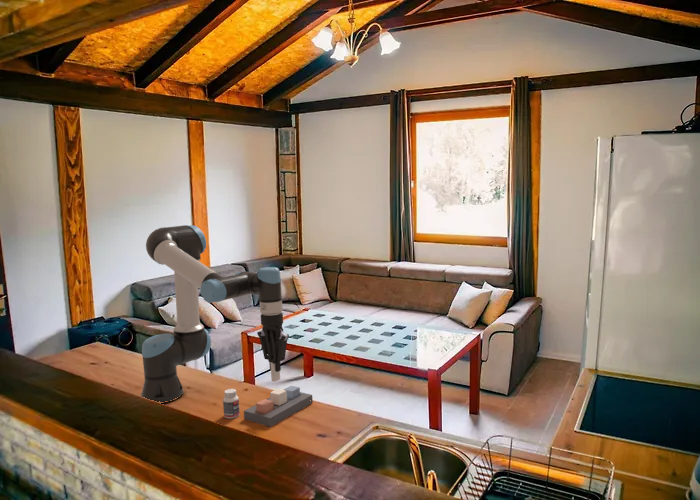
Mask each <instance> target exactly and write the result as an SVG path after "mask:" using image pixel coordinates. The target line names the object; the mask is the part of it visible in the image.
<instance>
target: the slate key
mask: <svg viewBox="0 0 700 500" xmlns="http://www.w3.org/2000/svg"><path fill="white" fill-rule="evenodd" d="M300 389H301V388H300V387H299V386H295V385H290V386H287V387H285V388H284V389H283V390H286V391H287V398H289V399H295V398H297V397H298V396H300V392H301V390H300Z"/></svg>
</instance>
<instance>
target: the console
mask: <svg viewBox="0 0 700 500" xmlns="http://www.w3.org/2000/svg"><path fill="white" fill-rule="evenodd" d="M266 400H270V401H271V398H270V397H268V398H267V399H266ZM310 400H311V401H310ZM313 403H314V402H313V395H312V394H310V393H305V392H302V391H300V396H298V397H297V398H295V399H289V398H287V402H286V403H284V404H282V405H280V406H278V405H274V404H273V409H274V410H272V411H270V412H269V413H267V414H263V413H259V412H257V410H256V404H254V405H253V406H250V407H248V408H247V409H245V410H243V418H244V420H246V421H248V422H252V423H255V424H259V425H262V426H265V427H269V428H271V427H274V426H275V425H277V424H279V423H280V422H282V421H284V420H285V419H287V418H289V417H291V416H292V415H294V414H296V413H298V412H300V411H301V410H303V409H305V408H306V407H309V406H310V405H311V404H313Z"/></svg>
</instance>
